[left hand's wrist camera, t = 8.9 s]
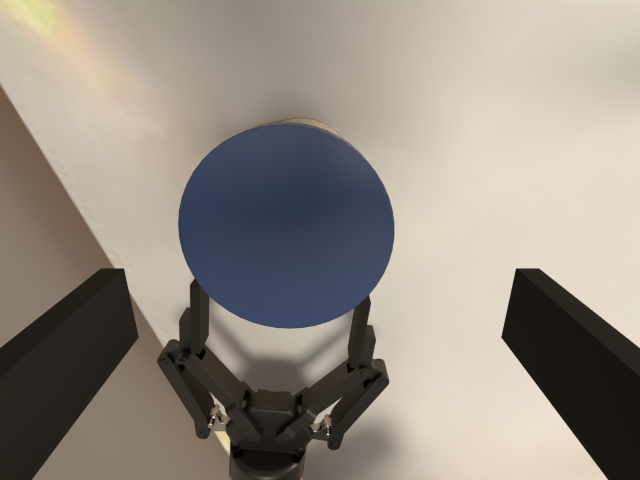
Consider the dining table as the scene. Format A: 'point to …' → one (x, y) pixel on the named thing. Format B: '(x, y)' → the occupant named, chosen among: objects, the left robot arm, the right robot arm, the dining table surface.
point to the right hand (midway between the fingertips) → (283, 285)
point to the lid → (286, 225)
